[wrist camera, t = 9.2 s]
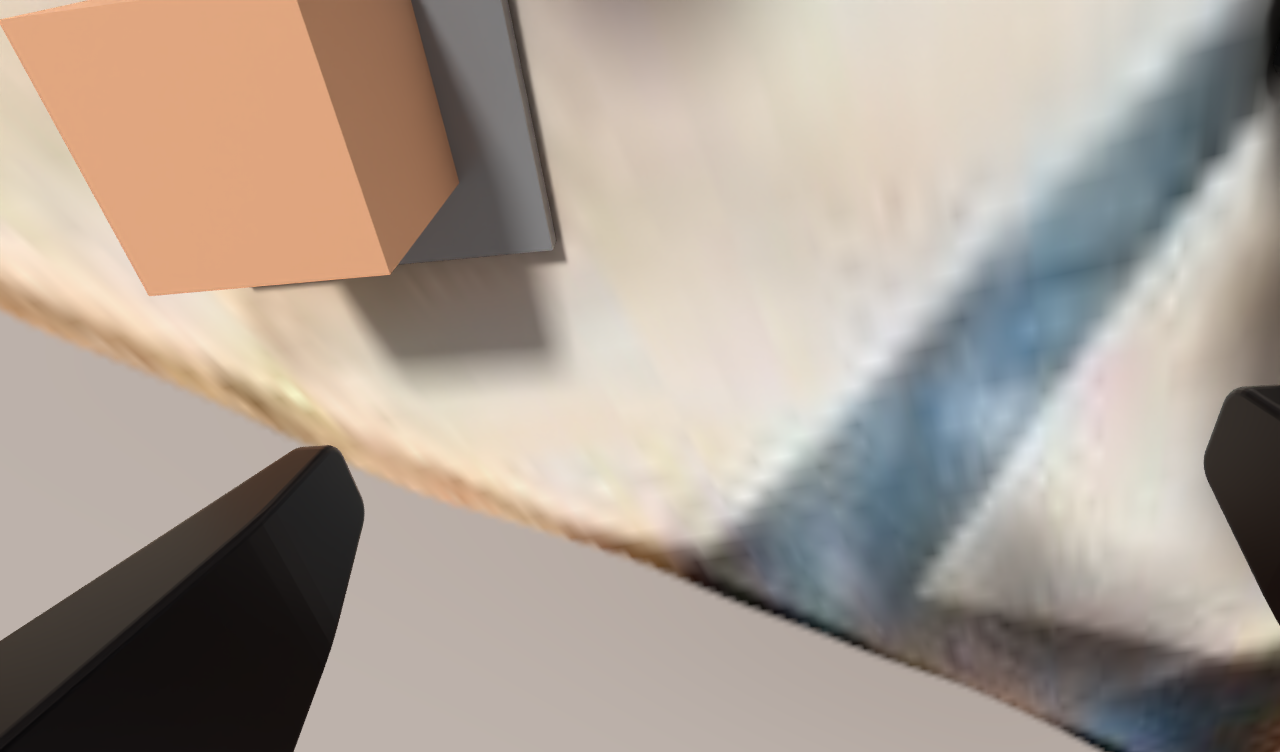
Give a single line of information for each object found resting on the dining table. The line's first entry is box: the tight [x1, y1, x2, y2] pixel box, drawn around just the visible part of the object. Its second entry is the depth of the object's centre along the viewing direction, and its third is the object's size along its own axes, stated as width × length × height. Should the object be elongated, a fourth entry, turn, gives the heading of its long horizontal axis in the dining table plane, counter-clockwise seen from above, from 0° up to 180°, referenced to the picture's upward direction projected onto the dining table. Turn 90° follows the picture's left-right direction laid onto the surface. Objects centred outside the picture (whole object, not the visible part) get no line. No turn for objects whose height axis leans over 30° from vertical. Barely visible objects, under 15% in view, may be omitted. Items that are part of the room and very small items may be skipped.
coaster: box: [398, 0, 556, 265], centre depth 17 cm, size 9×9×1 cm
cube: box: [0, 0, 459, 296], centre depth 15 cm, size 5×5×5 cm
